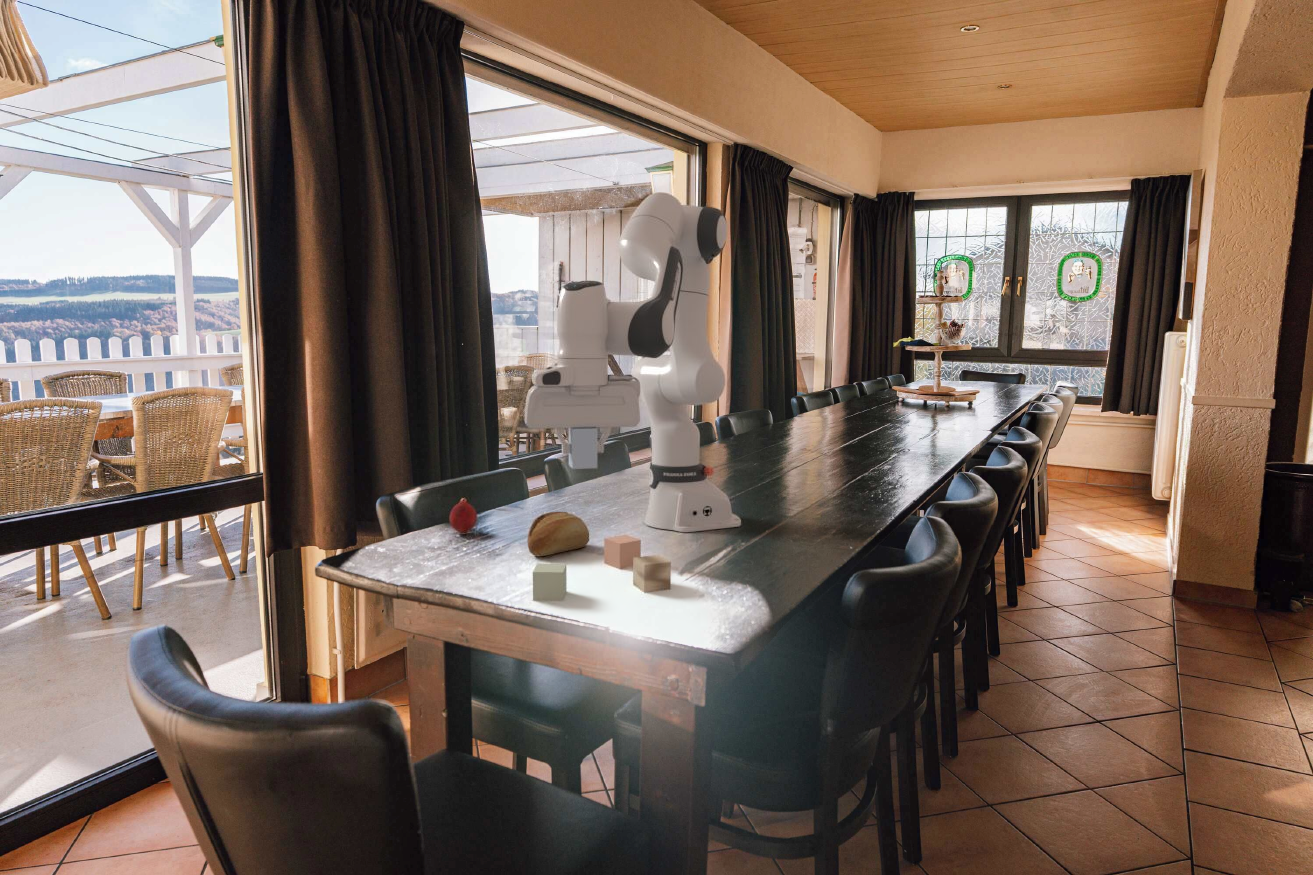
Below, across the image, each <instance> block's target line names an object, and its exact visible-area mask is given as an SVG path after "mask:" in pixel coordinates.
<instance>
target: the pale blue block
mask: <svg viewBox="0 0 1313 875" xmlns="http://www.w3.org/2000/svg"><path fill="white" fill-rule="evenodd" d="M597 442H598V427H595V428H568V443H571V454H568V466H569V467H570V468H571V469H572V470H579V469H581V470H583V469H585V470H587V469H598V453H597Z"/></svg>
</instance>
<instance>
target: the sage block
mask: <svg viewBox="0 0 1313 875" xmlns="http://www.w3.org/2000/svg"><path fill="white" fill-rule="evenodd" d="M567 588H568V587H567V563H536V565H535V567H534V569H533V571H532V601H534V602H536V601H537V602H538V601H540V602H564V600H565V596H566V595H567Z"/></svg>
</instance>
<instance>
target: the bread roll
mask: <svg viewBox="0 0 1313 875" xmlns="http://www.w3.org/2000/svg"><path fill="white" fill-rule="evenodd" d="M527 534H528V535H527V541H526V543H527V547H528V550H529V552H530V554H531V555H533V556H536V557H544V556H549V555H554V554H558V553H563V552H567V551H571V550H578V549H581V548H585V547H586V546H587V544H588V543H589V541H590V532H589V528H588V526H587V525H586V523H585V522H584V520H582V519H581V518H580V517H579V516H576V515H574V514H573V513H569V512H567V511H550V512H546V513H543V514H541V515H539V516H537V517H536V518H535V519H534V521H533V522H532V523H531V525H530V529H529V531H528V533H527Z"/></svg>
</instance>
